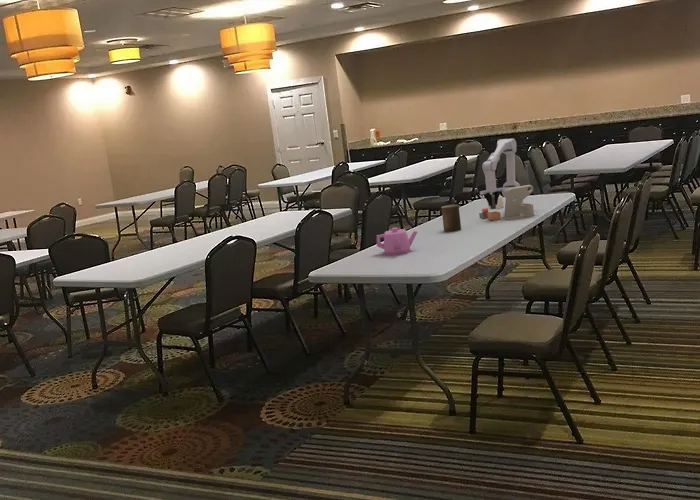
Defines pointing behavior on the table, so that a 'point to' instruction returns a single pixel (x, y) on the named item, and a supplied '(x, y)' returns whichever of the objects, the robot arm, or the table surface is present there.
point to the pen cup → (494, 215)
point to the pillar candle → (451, 218)
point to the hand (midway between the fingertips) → (493, 205)
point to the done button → (485, 210)
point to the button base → (483, 215)
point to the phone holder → (518, 203)
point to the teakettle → (396, 241)
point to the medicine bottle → (499, 203)
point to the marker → (493, 202)
